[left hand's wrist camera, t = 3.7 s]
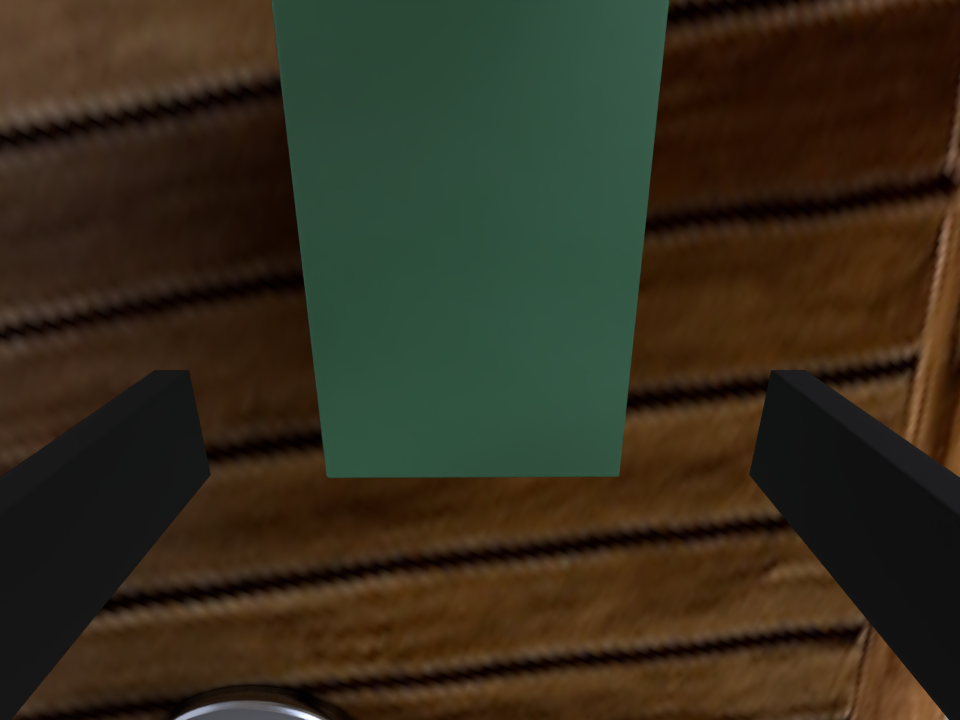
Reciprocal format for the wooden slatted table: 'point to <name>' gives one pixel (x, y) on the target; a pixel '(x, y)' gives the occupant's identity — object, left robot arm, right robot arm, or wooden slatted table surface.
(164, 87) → the wooden slatted table surface
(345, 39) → the cabinet
